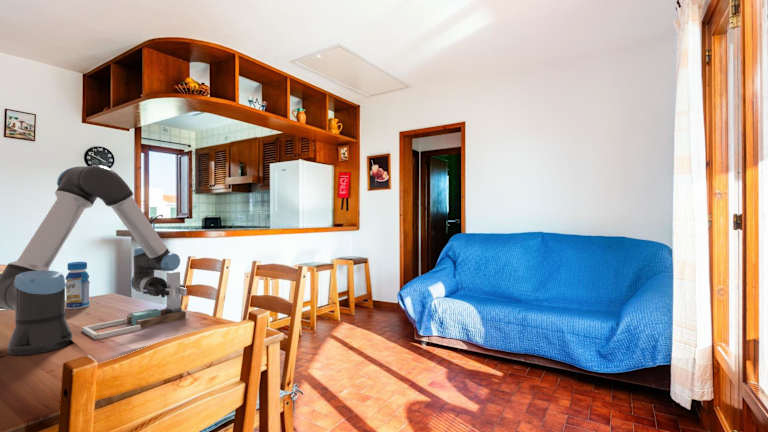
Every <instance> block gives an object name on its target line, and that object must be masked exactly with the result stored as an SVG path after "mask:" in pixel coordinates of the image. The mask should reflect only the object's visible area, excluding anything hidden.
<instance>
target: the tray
mask: <svg viewBox="0 0 768 432" xmlns="http://www.w3.org/2000/svg"><path fill="white" fill-rule="evenodd" d="M124 324H128V323H127V317H126V318H122V319H121V318H120V319H115V320H111V321H105V322H100V323H94V324H91V325H86V326H85V325H83V326H82V327H81V332H82V333H83V334H85V335H87V336H89V338H92V339H94V340H101V339H105V338H109V337H115V336H118V335H123V334H127V333H132V332H136V331H141V330H142V328H141V325H136V326H132V325H130V326H128V327H127V326H125V327H122V328H119V329H118V328H117V329H113V330H109V331H108V330H107V331H103V332H99V333H98V332H96V331H95V330H99V329H103V328H104V329H105V328H109V327H113V326H119V325H124Z"/></svg>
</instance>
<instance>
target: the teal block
mask: <svg viewBox="0 0 768 432" xmlns="http://www.w3.org/2000/svg"><path fill="white" fill-rule="evenodd" d="M160 310H161V309H157V308H155V309H149V310H143V311H144V312H147V313H148V318H152V317H156V316H161V311H160Z"/></svg>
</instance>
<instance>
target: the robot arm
mask: <svg viewBox="0 0 768 432" xmlns="http://www.w3.org/2000/svg"><path fill="white" fill-rule="evenodd" d="M56 185H57V189H56V190H55V191H54V193H55V196H56V200H55V202H54V203H53V205H52V206H51V207H50V209H49V210H48V212H47V214H46V215H45V217H44V219H43V220H42V222H41V223H40V225H39V226H38V228H37V230H36V231H35V232H34V234H33V236H32V237H31V238H30V240H29V242H28V244H27V245H26V246H25V248H24V250H23V251H22V253H21V255H20V256H19V257H18V259H16V260H15V261H14V260H13V261H12V262H9V263H8V264H7V265H6V267H5V268H4V269H3V271H2V272H1V273H0V309H1V310H4V311H5V310H6V311H8V310H9V311H14V315H15V316H14V318H15V320H14V321H15V322H14V323H15V324H14V325H15V326H14V329H13V331H12V334H11V336H10V338H9V342H8V344H7V355H12V356H28V355H36V354H42V353H46V352H51V351H55V350H60V349H62V348H63V347H67V346H69V345H70V344H71V343H73V333H72V330H71V329H70V326H69V324H68V322H67V319H66V287H65V284H66V278H65V276H64V274H63V273H62V272H60V271H55V270H50V267H51V265H52V264H53V262H54V261H55V260H56V257H57V255H58V254H59V252H60V251H61V249H62V248H63V246H64V245H65V242H67V241H66V240H67V239H68V238H69V236H70V234H71V232H72V231H73V229H74V228H75V226H76V224H77V222H78V221H79V219H80V217H81V215H82V214H83V212H84V211H85V210H86V209H89V208H92V206H93V205H94V204H95V202H96V200H97V199H100V201H102V202H103V204H105V206H107V207H110V208H111V209H112V210H113V211H114V213H115V214H116V215H117V217H118V218H119V219H120V221H121V222H122V223H123V225H124V227H126V230H128V232H129V234H131V236H132V237H133V238H134V239H135V241H136V242H137V244H138V245H139V246H140V247H139V246H138V247H135V248H134V249H133V257H132V258H133V276H132V278H131V279H130V286H131V288H132V289H133V290H135V291H136V292H139V293H142V294H144V295H149V296H153V297H159V296H161V298H165V297H167V296H168V297H172V298H175V290H172V289H168V288H167V280H166V279H164V278H161V277H158V276H155V271H160V272H173V271H177V269H178V268H179V267H180V264H181V258H180V255H178V254H177V253H174V252H171V251H170V250H169V249H168V247H167V246H166V244H165V243H164V241H163V240H162V238H161V237H160V235H159V234H158V232H157V231H156V230H155V228H154V226H152V224H151V222H150V221H149V219H148V218H147V217H146V215H145V213H144V212H143V211H142V209H141V208H140V207H139V205H138V203H137V202H136V200H135V199H134V198H133V196H134V192H133V190H132V189H131V188H130V186H129V185H128V184H127V183H126V181H125V180H124V179H123V178H122V177H121V176H120V175H119V174H118V173H117V172H116V171H114V170H113V169H112V168H109V167H107V166H104V165H89V166H87V165H85V166H81V165H80V166H73V167H70V168H67V169H65V170H64V171H62V172H61V173H60V174H59V175H58V177H57V182H56ZM187 289H188V288H186V285H185V284H181V283H180V296H184V297H185V296H187V295H188V291H187Z"/></svg>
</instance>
